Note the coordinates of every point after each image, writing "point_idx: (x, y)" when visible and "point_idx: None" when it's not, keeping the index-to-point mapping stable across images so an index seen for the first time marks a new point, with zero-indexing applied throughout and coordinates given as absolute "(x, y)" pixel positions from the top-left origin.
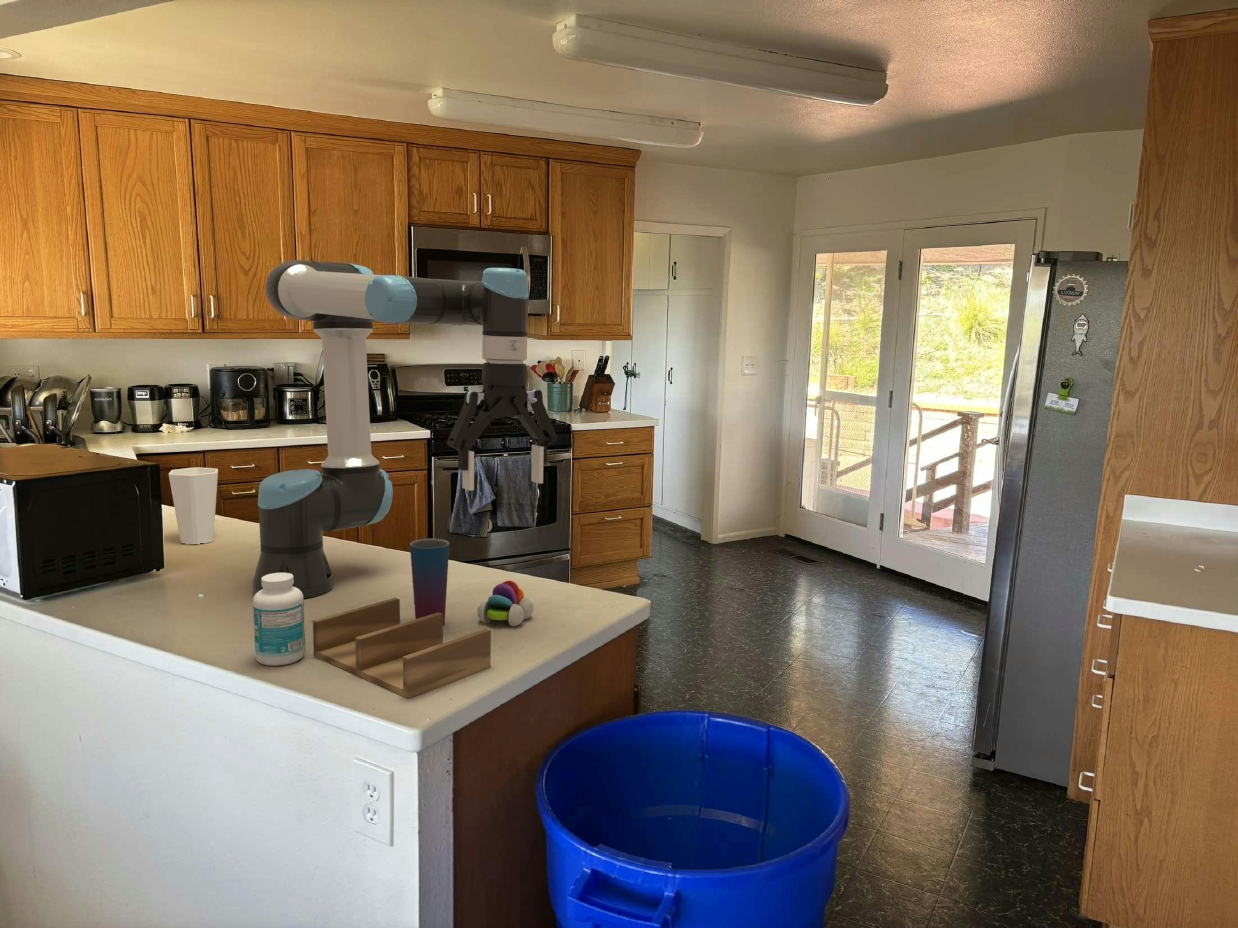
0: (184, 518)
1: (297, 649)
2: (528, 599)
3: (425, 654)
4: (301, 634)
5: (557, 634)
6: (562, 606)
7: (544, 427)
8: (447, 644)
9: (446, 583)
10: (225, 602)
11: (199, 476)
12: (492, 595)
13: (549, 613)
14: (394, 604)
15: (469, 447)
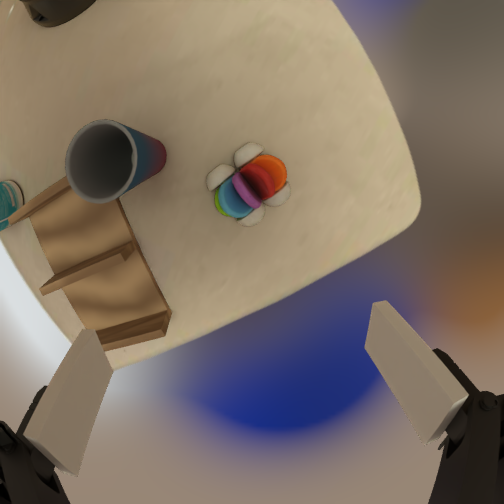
0: None
1: None
2: (285, 195)
3: None
4: (7, 221)
5: (281, 263)
6: (342, 172)
7: (498, 474)
8: (115, 347)
9: (150, 173)
10: (14, 28)
11: None
12: (222, 200)
13: (313, 188)
14: None
15: (56, 484)
